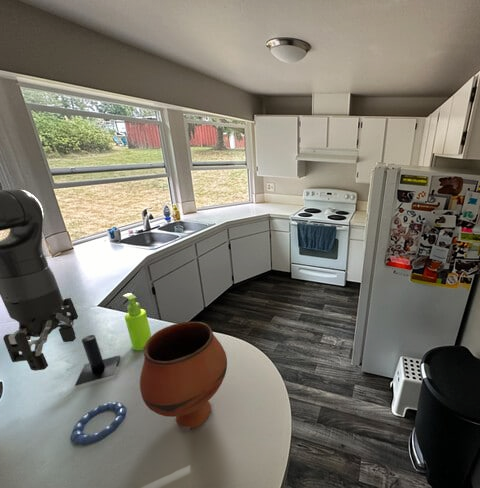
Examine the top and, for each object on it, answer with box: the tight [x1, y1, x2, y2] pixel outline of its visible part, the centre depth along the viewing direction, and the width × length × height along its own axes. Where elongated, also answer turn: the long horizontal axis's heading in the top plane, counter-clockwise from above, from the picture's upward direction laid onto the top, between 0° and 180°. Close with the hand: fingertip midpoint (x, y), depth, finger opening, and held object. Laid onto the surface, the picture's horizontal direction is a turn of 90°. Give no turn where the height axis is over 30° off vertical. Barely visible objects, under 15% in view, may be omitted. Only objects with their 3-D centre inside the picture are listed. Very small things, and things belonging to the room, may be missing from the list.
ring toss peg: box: [74, 334, 121, 387], centre depth 77 cm, size 9×9×13 cm
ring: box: [70, 401, 127, 446], centre depth 63 cm, size 10×10×2 cm
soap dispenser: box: [122, 292, 152, 351], centre depth 87 cm, size 6×7×20 cm
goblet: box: [139, 321, 228, 430], centre depth 63 cm, size 19×19×25 cm
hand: (56, 353), depth 56 cm, fingers open, 8 cm apart
